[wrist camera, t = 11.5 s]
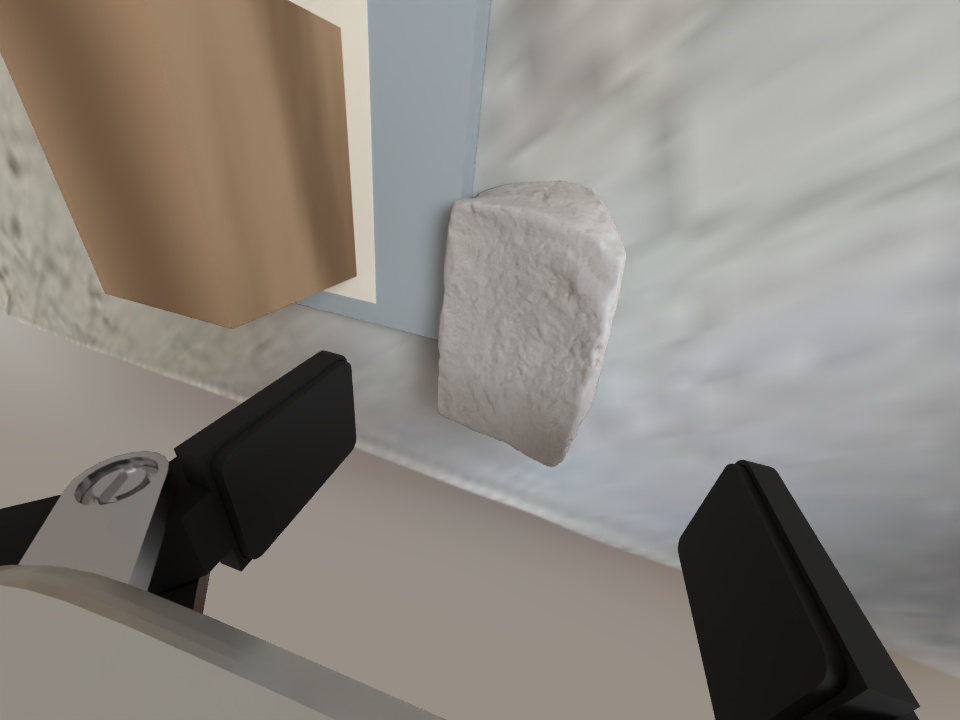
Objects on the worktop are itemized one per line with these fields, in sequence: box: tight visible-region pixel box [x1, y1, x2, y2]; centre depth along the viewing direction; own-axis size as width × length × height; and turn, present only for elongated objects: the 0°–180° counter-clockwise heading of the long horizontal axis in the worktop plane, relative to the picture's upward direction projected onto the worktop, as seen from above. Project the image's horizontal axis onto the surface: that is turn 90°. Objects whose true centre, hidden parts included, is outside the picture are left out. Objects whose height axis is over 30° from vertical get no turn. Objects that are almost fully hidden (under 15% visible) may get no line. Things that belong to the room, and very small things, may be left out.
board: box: [289, 0, 491, 340], centre depth 14 cm, size 14×12×1 cm
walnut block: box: [0, 0, 357, 329], centre depth 11 cm, size 5×8×6 cm, turn 174°
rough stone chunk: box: [437, 181, 626, 467], centre depth 14 cm, size 10×6×6 cm, turn 170°
